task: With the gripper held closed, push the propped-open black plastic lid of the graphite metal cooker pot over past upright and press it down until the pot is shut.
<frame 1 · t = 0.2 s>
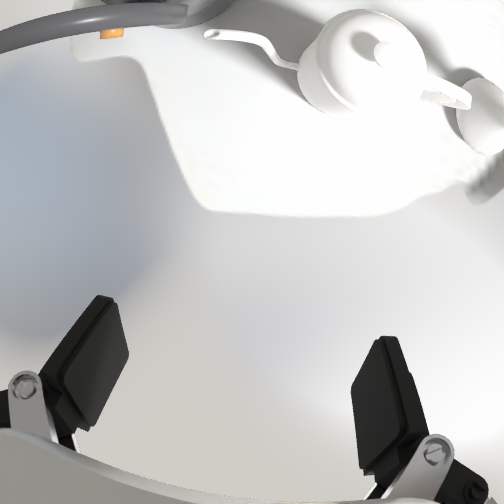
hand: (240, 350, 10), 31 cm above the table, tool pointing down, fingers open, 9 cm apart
coffeepot: (335, 76, 31), on the table
cooker lid: (83, 28, 15), point 19 cm above the table, hinge at 106.0°
flower in vase: (480, 120, 30), on the table
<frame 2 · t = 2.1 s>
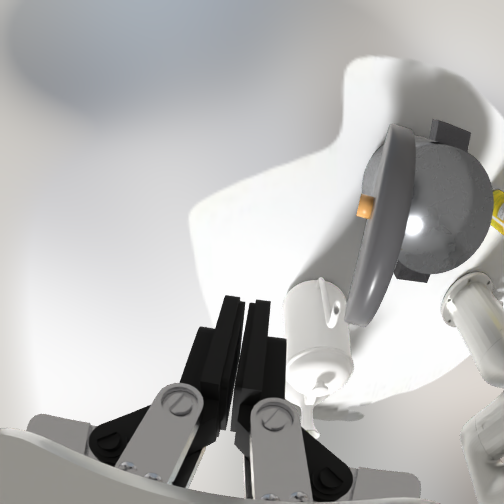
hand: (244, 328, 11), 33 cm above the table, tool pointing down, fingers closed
coffeepot: (314, 300, 50), on the table
cooker pot: (411, 188, 39), on the table
cooker lid: (372, 222, 23), point 19 cm above the table, hinge at 106.0°
flower in vase: (303, 383, 61), on the table
pill bottle: (491, 204, 38), on the table
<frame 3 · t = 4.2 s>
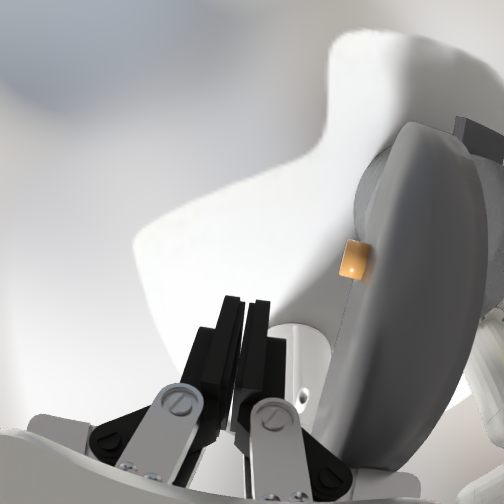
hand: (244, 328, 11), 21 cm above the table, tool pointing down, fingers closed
coffeepot: (291, 345, 40), on the table
cooker pot: (420, 209, 29), on the table
cooker lid: (365, 304, 13), point 19 cm above the table, hinge at 103.9°, touching gripper
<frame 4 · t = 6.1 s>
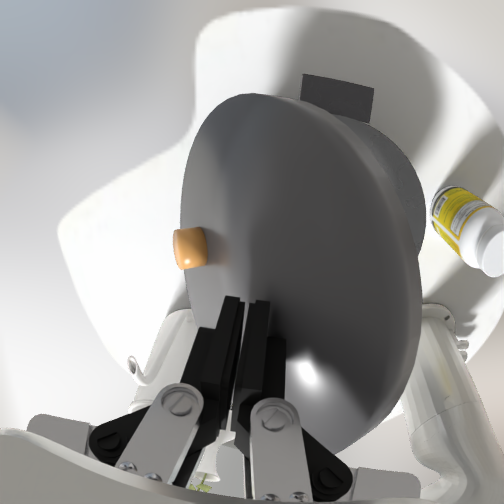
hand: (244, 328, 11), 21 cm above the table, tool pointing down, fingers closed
coffeepot: (199, 331, 41), on the table
cooker pot: (308, 189, 30), on the table
cooker lid: (236, 288, 14), point 19 cm above the table, hinge at 55.0°, touching gripper
flower in vase: (216, 415, 52), on the table
pill bottle: (449, 209, 29), on the table
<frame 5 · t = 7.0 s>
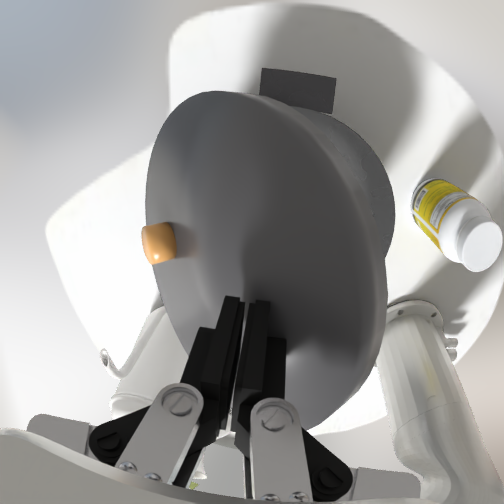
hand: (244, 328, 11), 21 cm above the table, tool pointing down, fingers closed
coffeepot: (182, 328, 41), on the table
cooker pot: (282, 184, 30), on the table
cooker lid: (208, 276, 14), point 18 cm above the table, hinge at 45.9°, touching gripper
flower in vase: (204, 413, 52), on the table
pill bottle: (431, 202, 29), on the table
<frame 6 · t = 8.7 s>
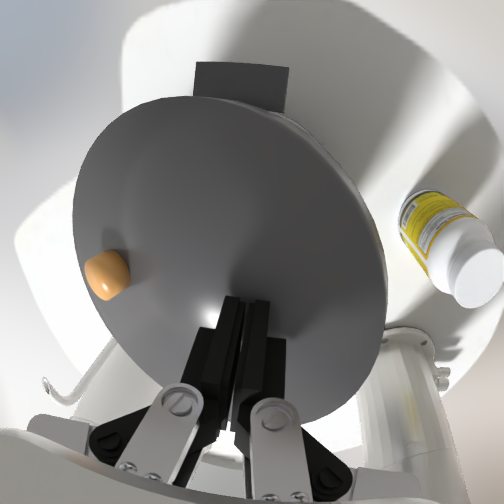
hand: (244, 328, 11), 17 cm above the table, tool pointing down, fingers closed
coffeepot: (149, 348, 37), on the table
cooker pot: (245, 198, 26), on the table
cooker lid: (183, 299, 13), point 15 cm above the table, hinge at 19.3°, touching gripper
pill bottle: (424, 218, 25), on the table
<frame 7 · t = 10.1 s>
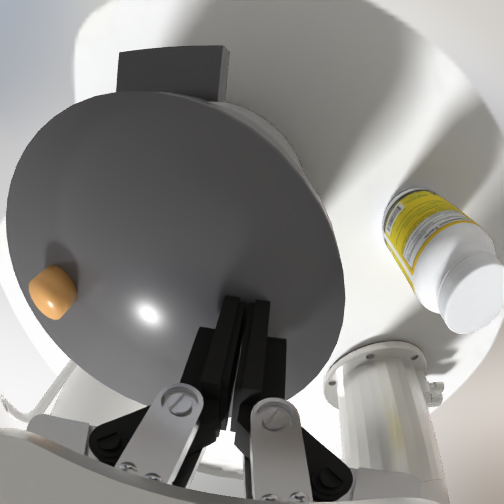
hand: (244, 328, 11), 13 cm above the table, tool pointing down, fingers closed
coffeepot: (122, 359, 34), on the table
cooker pot: (204, 202, 23), on the table
cooker lid: (135, 303, 12), point 13 cm above the table, hinge at 2.5°, touching gripper
pill bottle: (413, 220, 22), on the table
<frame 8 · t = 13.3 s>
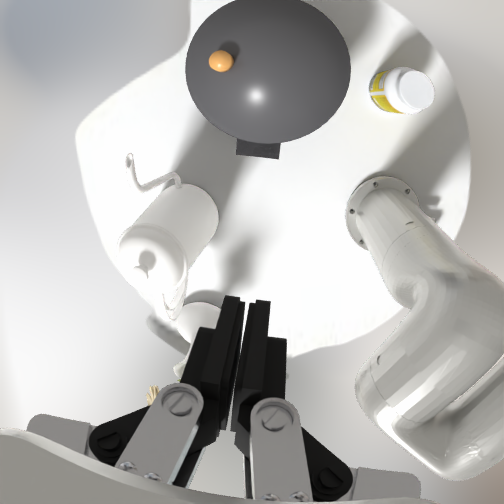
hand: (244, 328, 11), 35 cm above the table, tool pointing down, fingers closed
coffeepot: (187, 210, 48), on the table
cooker pot: (269, 76, 36), on the table
cooker lid: (266, 64, 25), point 13 cm above the table, hinge at 2.5°
flower in vase: (203, 321, 58), on the table
pill bottle: (386, 91, 35), on the table
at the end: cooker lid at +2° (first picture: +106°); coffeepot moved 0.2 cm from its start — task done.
